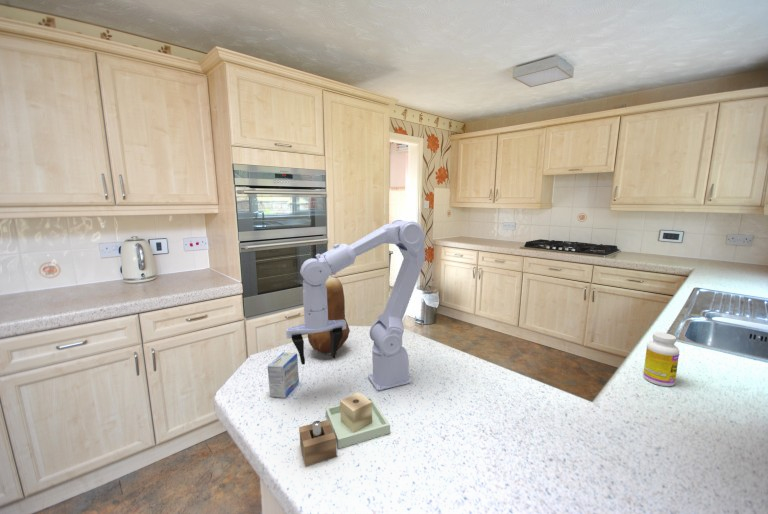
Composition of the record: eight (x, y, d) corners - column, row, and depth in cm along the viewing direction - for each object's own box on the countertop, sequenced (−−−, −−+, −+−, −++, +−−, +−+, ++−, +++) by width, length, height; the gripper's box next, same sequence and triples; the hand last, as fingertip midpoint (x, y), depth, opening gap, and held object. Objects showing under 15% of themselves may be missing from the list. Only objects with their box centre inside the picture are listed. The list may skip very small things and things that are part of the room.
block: (359, 412, 77) (358, 392, 76) (372, 422, 73) (371, 401, 72) (340, 421, 74) (340, 400, 73) (353, 432, 70) (353, 411, 69)
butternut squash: (314, 343, 116) (310, 273, 112) (352, 343, 116) (350, 273, 112) (303, 362, 102) (299, 283, 98) (346, 362, 102) (344, 283, 98)
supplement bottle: (672, 390, 84) (678, 342, 82) (640, 380, 89) (645, 335, 87) (676, 381, 89) (683, 335, 87) (646, 371, 94) (651, 328, 92)
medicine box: (285, 399, 83) (283, 366, 82) (269, 397, 84) (266, 365, 83) (299, 382, 91) (297, 352, 89) (284, 380, 92) (282, 351, 90)
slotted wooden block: (329, 436, 69) (328, 419, 69) (336, 456, 64) (335, 438, 63) (300, 445, 67) (299, 427, 66) (305, 466, 62) (304, 447, 61)
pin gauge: (321, 446, 66) (319, 419, 66) (322, 452, 65) (321, 424, 64) (313, 449, 66) (311, 421, 65) (314, 454, 64) (313, 426, 63)
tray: (371, 404, 80) (371, 396, 80) (390, 433, 70) (390, 424, 70) (325, 416, 76) (325, 408, 76) (338, 448, 66) (338, 439, 66)
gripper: (340, 299, 88) (341, 348, 90) (283, 307, 82) (286, 358, 84) (347, 307, 81) (349, 359, 83) (286, 315, 76) (290, 371, 78)
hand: (318, 359), depth 83 cm, fingers open, 7 cm apart
